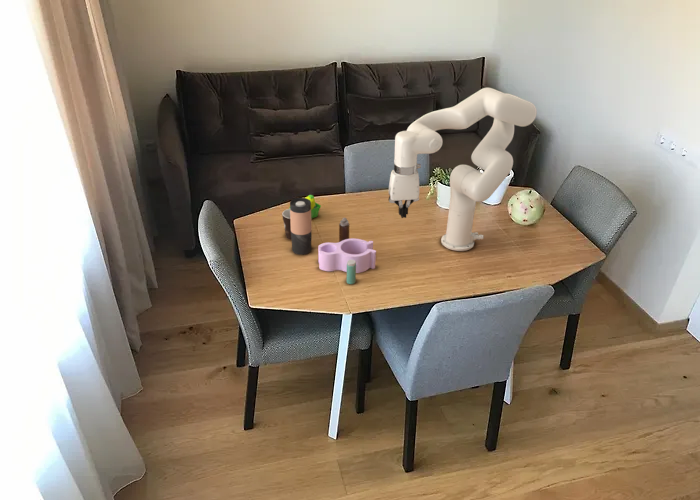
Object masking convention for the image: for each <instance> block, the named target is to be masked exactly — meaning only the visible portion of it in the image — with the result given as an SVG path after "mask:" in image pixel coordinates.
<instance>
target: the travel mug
mask: <svg viewBox="0 0 700 500" xmlns="http://www.w3.org/2000/svg"><path fill="white" fill-rule="evenodd" d="M289 207H290V208H289V209H290V221H291V240H290V241H291V250H292V252H293V254H295V255H299V256H304V255H308V254H309V253H311V251H312V233H313V232H312V231H313V229H312V219H311V201H310V200H309V199H306V198H305V197H295V198H293V199H291V200H290V201H289Z"/></svg>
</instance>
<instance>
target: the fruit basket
mask: <svg viewBox="0 0 700 500" xmlns="http://www.w3.org/2000/svg"><path fill="white" fill-rule="evenodd" d="M304 198H306V199H309V200H310V201H311V220H312V219H314V218H317V217H318V216H319V212H320V209H321V207H322V205H320V204H319V203H317V202H316V200H315V196H314V195H313V194H309V195H307V196H306V197H304ZM288 209H290V206H289V207H288Z"/></svg>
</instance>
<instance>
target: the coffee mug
mask: <svg viewBox="0 0 700 500" xmlns="http://www.w3.org/2000/svg"><path fill="white" fill-rule="evenodd" d="M281 215H282V221H283V222H282V223H283V227H284V232H285V238H286V239H287V240H290V241H292V240H291V221H290V208H287V209H284V210H283V211H282V213H281Z"/></svg>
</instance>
